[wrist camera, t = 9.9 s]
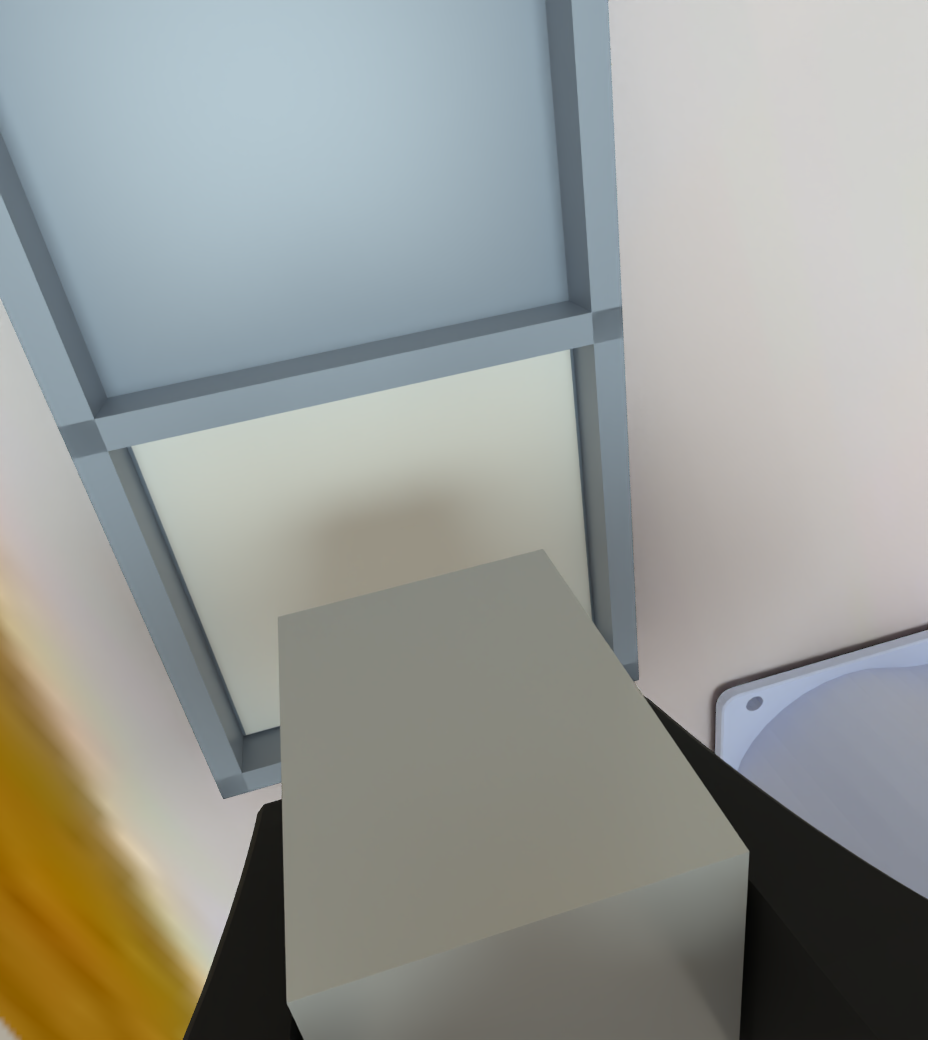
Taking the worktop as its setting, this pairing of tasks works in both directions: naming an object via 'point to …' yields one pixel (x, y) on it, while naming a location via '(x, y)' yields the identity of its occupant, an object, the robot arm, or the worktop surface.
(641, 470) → the worktop surface
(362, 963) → the block
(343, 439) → the tray
